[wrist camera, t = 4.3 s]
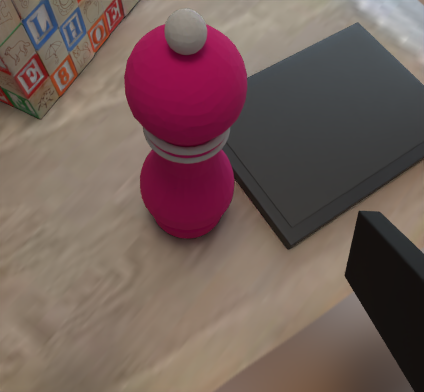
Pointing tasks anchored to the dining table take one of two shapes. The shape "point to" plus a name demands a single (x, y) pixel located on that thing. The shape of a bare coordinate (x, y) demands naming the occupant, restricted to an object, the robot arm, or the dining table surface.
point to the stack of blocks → (50, 46)
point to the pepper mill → (186, 120)
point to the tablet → (325, 131)
